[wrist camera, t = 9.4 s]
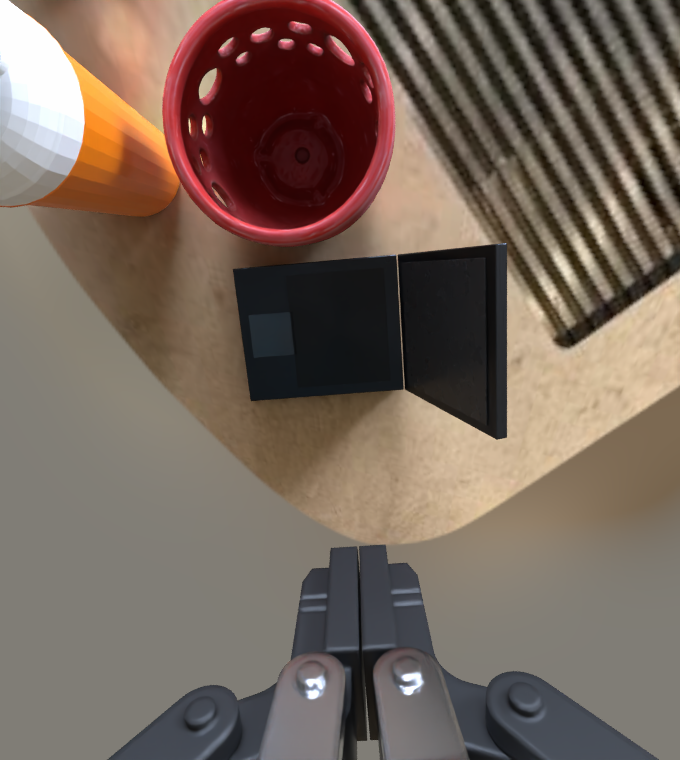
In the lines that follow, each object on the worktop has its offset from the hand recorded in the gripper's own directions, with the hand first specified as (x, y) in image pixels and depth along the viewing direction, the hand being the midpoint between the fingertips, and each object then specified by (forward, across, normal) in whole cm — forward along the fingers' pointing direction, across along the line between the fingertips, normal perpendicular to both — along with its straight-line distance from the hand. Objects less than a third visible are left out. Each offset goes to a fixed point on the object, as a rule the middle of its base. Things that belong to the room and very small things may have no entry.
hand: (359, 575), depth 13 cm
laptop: (+29, +2, -3) cm, 29 cm away
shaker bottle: (+29, +16, -17) cm, 37 cm away
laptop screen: (+21, -6, -3) cm, 22 cm away
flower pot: (+29, +3, -16) cm, 33 cm away
